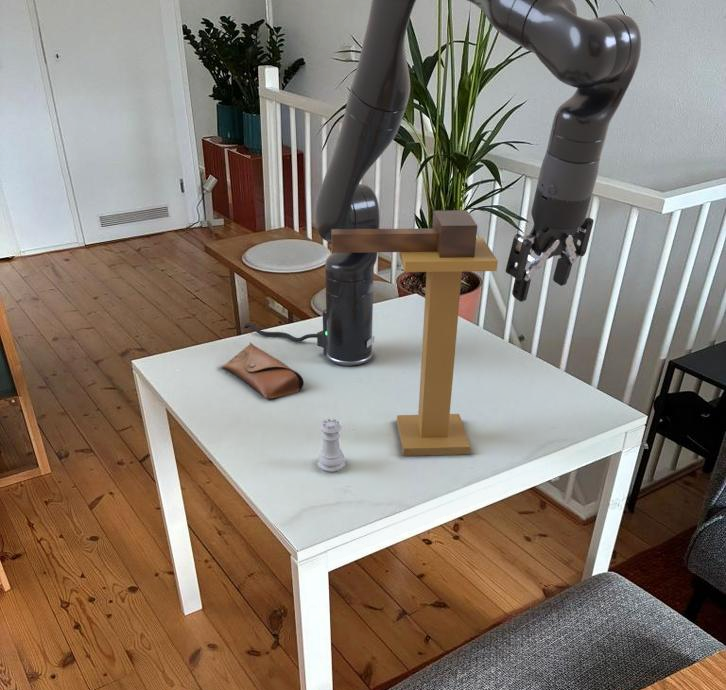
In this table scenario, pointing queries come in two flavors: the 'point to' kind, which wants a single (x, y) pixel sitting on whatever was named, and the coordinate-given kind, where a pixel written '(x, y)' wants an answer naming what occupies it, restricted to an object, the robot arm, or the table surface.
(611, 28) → the robot arm
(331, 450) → the rook chess piece
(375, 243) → the walnut mallet
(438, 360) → the pedestal
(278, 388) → the sunglasses case
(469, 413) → the table surface
